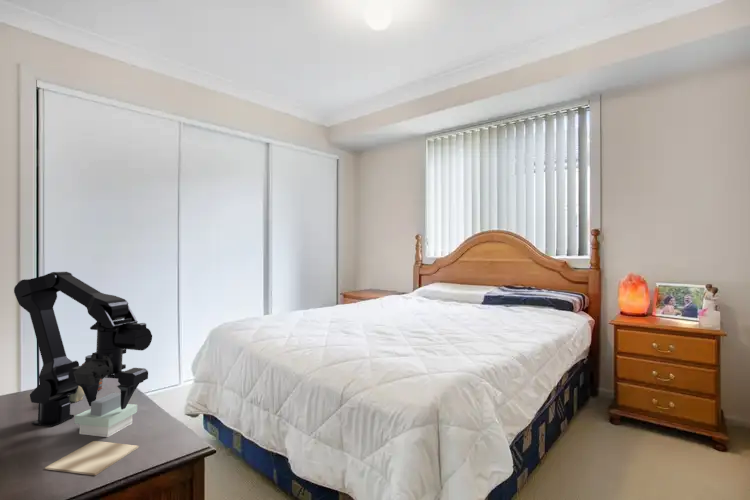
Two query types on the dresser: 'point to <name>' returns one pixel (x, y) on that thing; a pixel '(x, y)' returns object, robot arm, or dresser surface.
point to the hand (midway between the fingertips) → (107, 407)
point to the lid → (105, 412)
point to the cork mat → (92, 458)
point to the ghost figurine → (77, 395)
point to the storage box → (105, 428)
